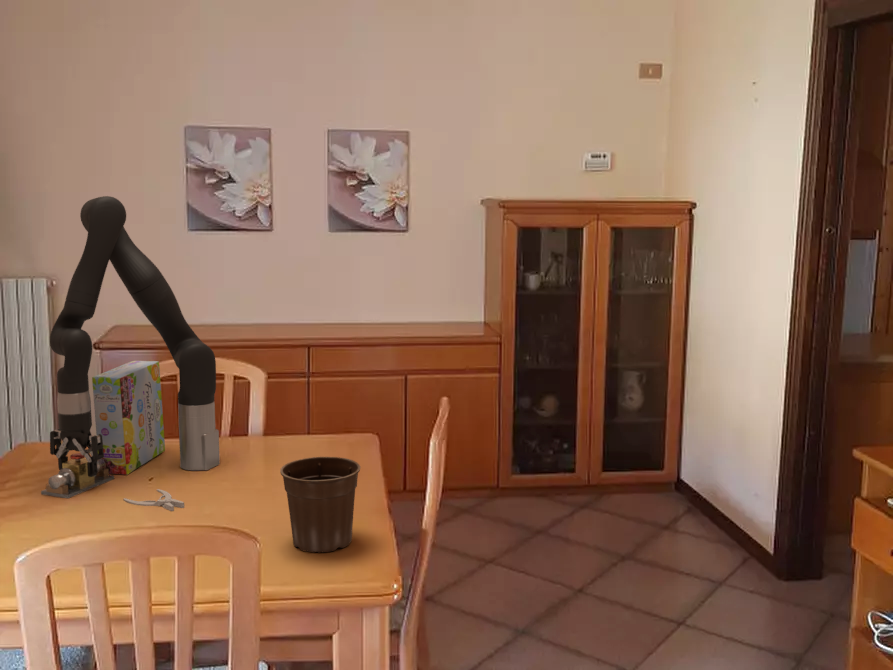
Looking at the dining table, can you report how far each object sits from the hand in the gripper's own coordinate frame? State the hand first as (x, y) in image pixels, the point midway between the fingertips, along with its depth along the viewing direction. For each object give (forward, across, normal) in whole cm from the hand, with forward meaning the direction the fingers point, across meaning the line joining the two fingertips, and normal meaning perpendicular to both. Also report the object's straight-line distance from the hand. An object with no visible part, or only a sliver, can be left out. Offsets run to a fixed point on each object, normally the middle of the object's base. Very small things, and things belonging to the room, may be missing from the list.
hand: (78, 474), depth 225 cm
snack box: (+3, +1, -21) cm, 21 cm away
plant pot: (+3, -72, +10) cm, 73 cm away
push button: (+2, 0, 0) cm, 2 cm away
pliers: (+4, -25, +2) cm, 26 cm away
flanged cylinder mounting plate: (+3, 0, 0) cm, 3 cm away
